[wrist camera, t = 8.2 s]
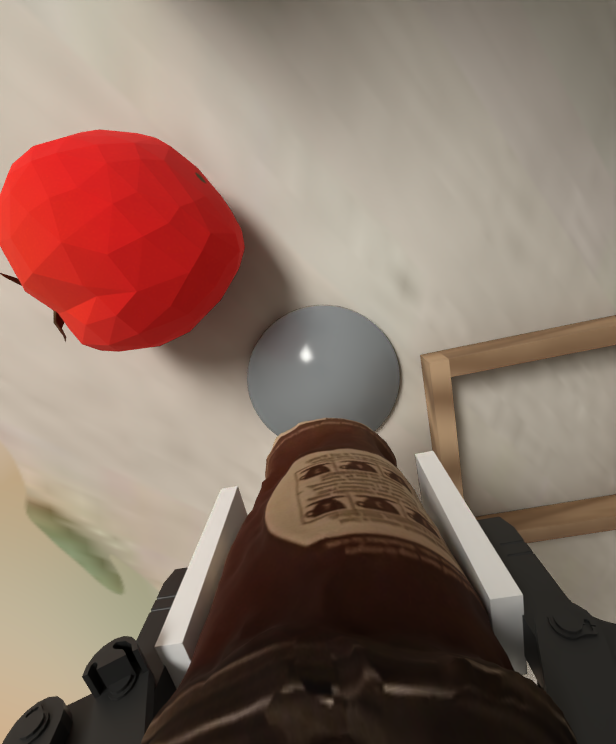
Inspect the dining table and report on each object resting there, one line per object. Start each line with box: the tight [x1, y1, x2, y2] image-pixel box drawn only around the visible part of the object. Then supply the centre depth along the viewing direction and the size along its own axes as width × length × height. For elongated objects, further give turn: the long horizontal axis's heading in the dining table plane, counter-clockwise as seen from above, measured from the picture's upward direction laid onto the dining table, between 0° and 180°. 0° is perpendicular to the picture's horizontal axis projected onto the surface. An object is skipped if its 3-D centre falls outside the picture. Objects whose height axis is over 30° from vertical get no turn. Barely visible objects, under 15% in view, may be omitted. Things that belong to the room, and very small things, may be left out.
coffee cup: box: [141, 418, 578, 744], centre depth 11 cm, size 9×8×13 cm
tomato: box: [0, 130, 245, 352], centre depth 22 cm, size 13×13×13 cm
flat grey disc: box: [247, 305, 400, 436], centre depth 30 cm, size 13×13×1 cm
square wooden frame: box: [420, 315, 616, 543], centre depth 30 cm, size 19×19×2 cm
